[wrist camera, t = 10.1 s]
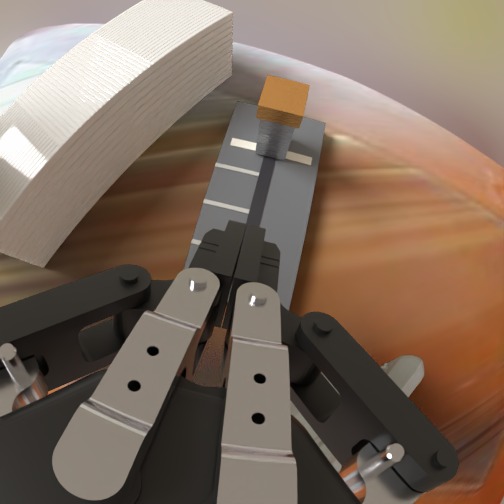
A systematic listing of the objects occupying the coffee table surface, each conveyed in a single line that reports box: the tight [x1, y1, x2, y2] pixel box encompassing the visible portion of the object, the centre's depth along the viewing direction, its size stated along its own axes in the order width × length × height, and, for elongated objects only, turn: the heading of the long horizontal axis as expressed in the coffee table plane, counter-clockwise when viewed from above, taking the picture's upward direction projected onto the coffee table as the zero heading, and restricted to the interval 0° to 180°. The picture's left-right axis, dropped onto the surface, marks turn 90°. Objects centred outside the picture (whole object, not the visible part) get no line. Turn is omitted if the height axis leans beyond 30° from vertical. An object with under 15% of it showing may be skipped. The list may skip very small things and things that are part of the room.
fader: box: [255, 75, 310, 161], centre depth 27 cm, size 4×4×8 cm
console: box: [184, 101, 326, 310], centre depth 31 cm, size 10×21×2 cm, turn 166°
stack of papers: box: [0, 0, 233, 268], centre depth 28 cm, size 32×11×11 cm, turn 141°
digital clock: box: [290, 355, 424, 472], centre depth 23 cm, size 16×9×11 cm, turn 124°
